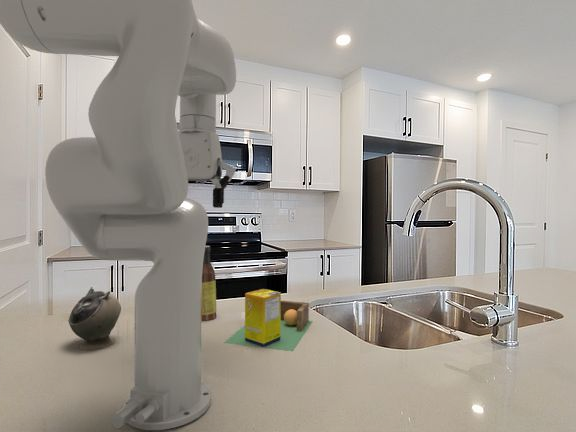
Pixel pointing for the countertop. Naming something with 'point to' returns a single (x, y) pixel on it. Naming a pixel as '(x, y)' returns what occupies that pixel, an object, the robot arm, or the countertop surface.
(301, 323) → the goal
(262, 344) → the supplement box
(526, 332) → the countertop surface
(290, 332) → the pitch
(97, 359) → the countertop surface
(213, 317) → the sauce bottle
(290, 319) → the ball
